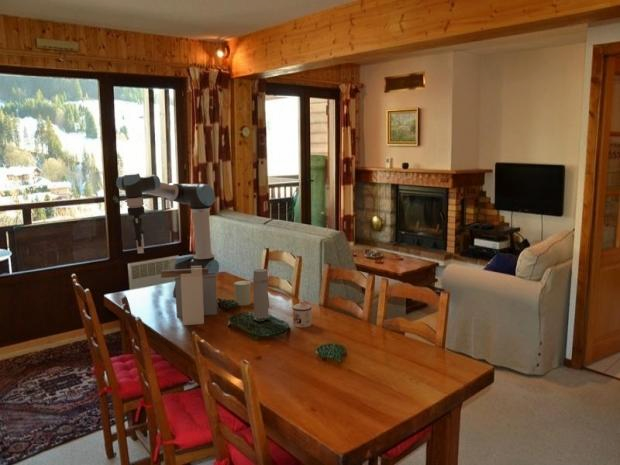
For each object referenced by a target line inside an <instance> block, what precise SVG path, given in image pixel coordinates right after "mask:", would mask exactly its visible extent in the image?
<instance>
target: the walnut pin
mask: <svg viewBox="0 0 620 465" xmlns="http://www.w3.org/2000/svg"><path fill="white" fill-rule="evenodd" d="M189 273H191V269H176V270H175V269H161V270H160V278H161V279H162V278H163V279H165V278H167V279H168V278H175V277H181V274H189ZM202 275H208V268H202Z"/></svg>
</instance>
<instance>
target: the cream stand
mask: <svg viewBox="0 0 620 465" xmlns="http://www.w3.org/2000/svg"><path fill="white" fill-rule="evenodd" d="M181 295H182V317H181V318H182V326H190V325H192V326H193V325H203V324H205V315H204V307H203V281H202V266H191V273H189V274H181Z"/></svg>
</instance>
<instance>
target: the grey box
mask: <svg viewBox="0 0 620 465" xmlns="http://www.w3.org/2000/svg"><path fill="white" fill-rule="evenodd" d="M202 281H203V307H204V316H212V315H218V307H217V306H218V305H217V304H218V301H217V300H218V299H217V276H216V275H215V272H208V275H202ZM174 282H175V283H174V286H175V290H176V297H175V307H176V308H175V309H176V317H177V318H182V295H181V277H174Z"/></svg>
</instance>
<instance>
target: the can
mask: <svg viewBox="0 0 620 465" xmlns="http://www.w3.org/2000/svg"><path fill="white" fill-rule="evenodd" d="M233 284H234V285H233V286H234V287H233V288H234V290H233V291H234V302H235V301H236V302H237V303H239V305H238V306H239V307H240V306H242V307H243V306H248V305H249V306H250V305H251V304H252V290H251V289H252V283H251V281H249V280H239V281H238V280H237V281H235V282H234V283H233Z"/></svg>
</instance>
